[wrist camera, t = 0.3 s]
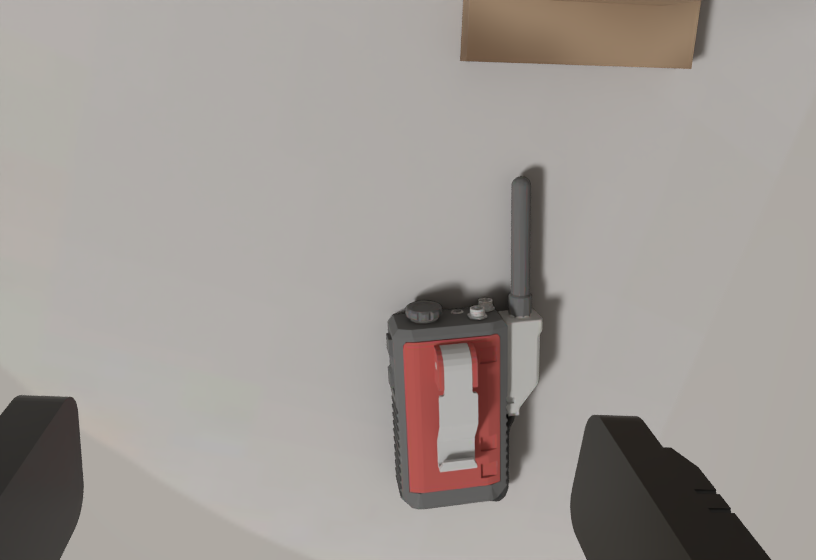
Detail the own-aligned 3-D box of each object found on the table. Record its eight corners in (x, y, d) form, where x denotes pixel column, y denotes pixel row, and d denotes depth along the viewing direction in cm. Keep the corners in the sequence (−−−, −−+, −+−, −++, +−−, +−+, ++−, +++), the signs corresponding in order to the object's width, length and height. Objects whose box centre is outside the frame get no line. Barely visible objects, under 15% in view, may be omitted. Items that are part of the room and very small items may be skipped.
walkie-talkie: (528, 481, 46) (533, 171, 40) (551, 524, 42) (560, 185, 36) (393, 498, 45) (376, 181, 39) (403, 543, 41) (385, 197, 34)
